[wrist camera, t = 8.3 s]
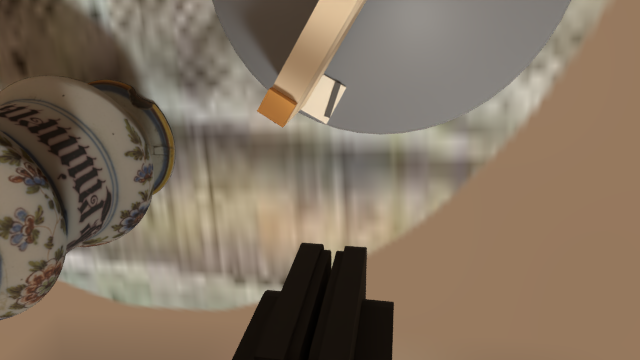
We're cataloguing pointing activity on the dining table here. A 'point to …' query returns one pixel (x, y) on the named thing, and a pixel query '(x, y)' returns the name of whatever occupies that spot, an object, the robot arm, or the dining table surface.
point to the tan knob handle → (309, 58)
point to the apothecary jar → (71, 175)
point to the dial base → (398, 56)
